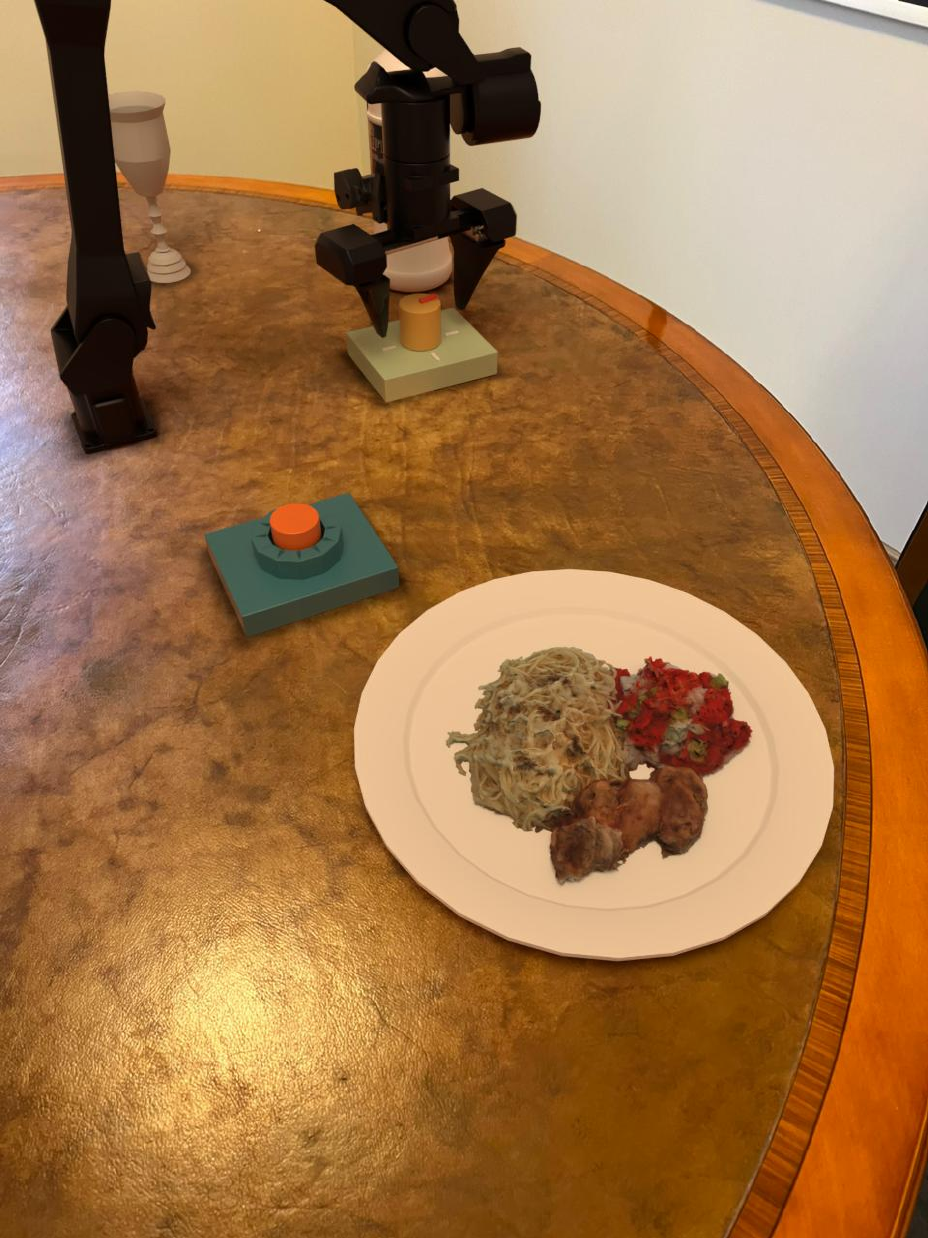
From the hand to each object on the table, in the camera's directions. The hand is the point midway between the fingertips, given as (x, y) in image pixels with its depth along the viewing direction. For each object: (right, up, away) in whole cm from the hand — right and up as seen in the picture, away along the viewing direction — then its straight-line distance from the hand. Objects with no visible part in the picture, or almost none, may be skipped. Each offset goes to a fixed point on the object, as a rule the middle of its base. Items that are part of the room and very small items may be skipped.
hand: (421, 321), depth 90 cm
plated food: (+12, -37, -30) cm, 49 cm away
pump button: (-8, -23, -21) cm, 32 cm away
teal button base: (-8, -25, -18) cm, 32 cm away
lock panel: (0, -3, +3) cm, 5 cm away
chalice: (-30, +11, +17) cm, 36 cm away
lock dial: (0, -1, +1) cm, 2 cm away
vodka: (-2, +10, +17) cm, 20 cm away
